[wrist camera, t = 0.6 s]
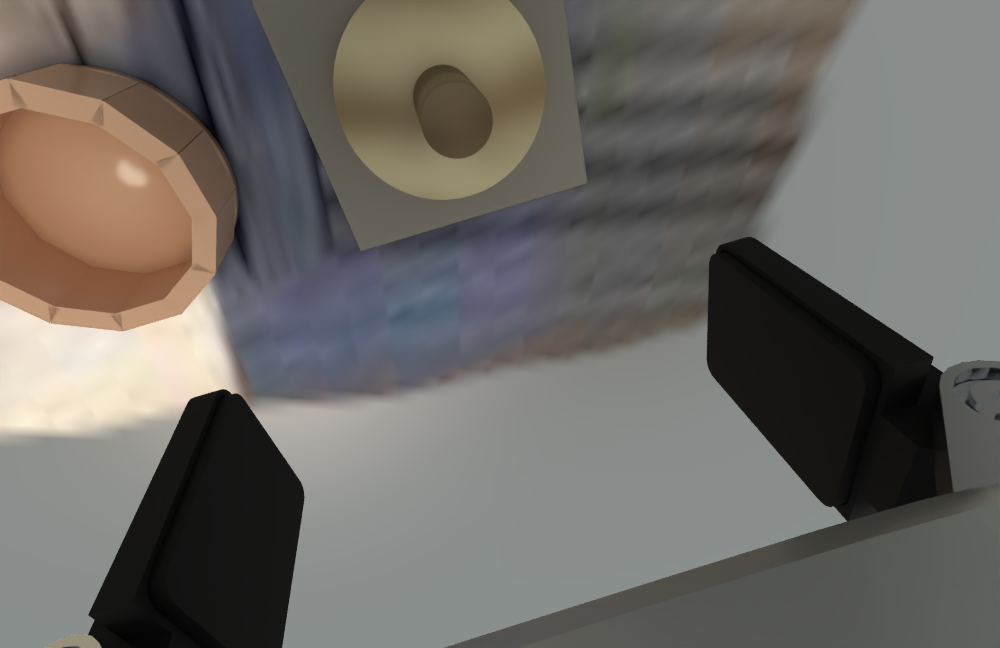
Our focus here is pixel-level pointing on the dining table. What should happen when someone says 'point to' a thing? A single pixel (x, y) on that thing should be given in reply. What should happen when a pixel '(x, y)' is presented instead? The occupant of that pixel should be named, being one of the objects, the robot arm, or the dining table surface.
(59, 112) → the bowl
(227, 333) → the dining table surface
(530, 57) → the lid
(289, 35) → the mat
